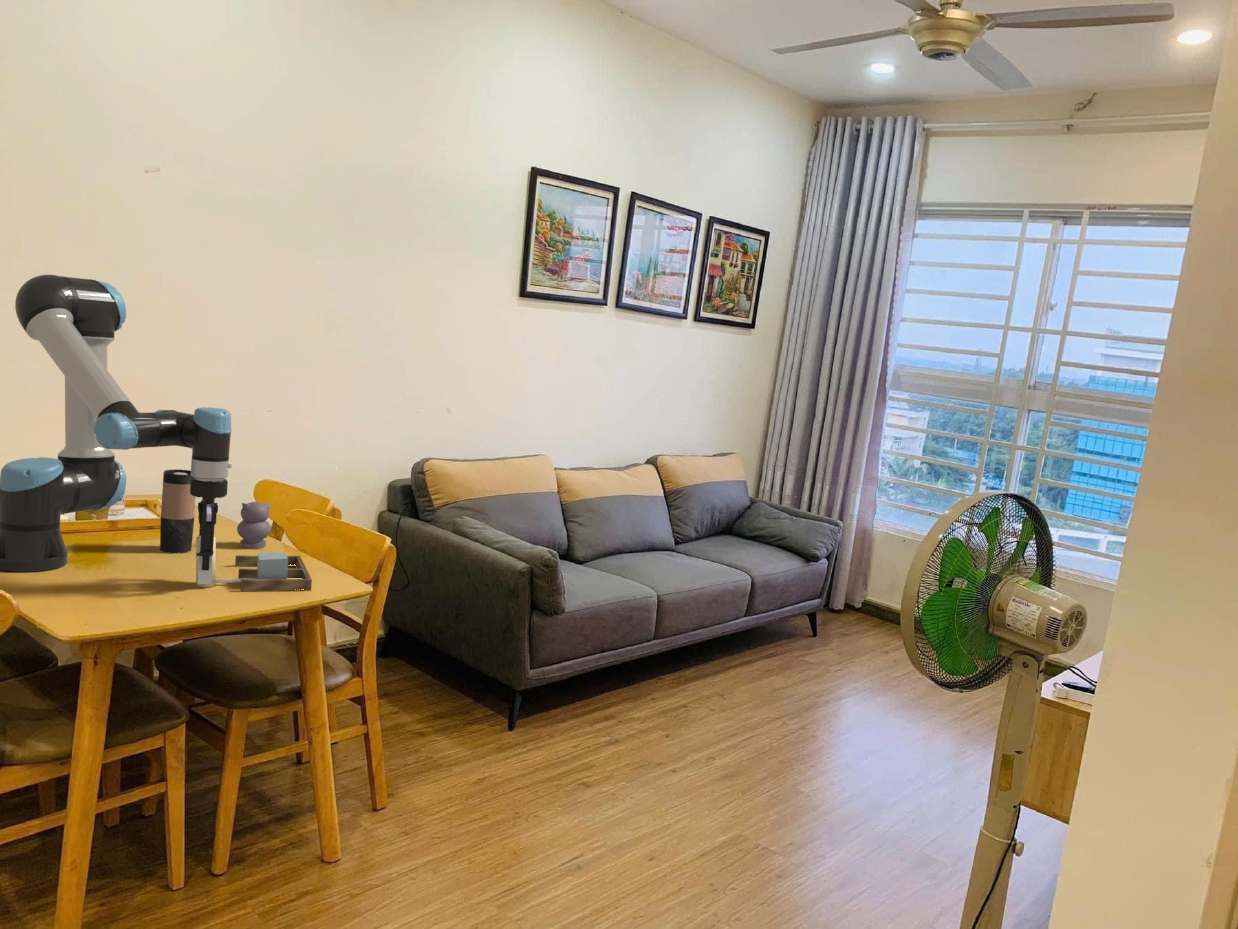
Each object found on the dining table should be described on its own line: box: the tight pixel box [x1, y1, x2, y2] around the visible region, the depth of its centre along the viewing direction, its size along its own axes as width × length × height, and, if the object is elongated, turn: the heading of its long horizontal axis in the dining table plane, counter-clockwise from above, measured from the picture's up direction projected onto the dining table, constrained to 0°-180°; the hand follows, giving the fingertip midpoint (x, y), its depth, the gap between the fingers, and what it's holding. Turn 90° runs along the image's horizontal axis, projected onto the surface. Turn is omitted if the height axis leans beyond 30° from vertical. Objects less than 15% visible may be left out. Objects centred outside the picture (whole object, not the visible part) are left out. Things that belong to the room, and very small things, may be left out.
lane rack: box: [234, 554, 313, 592], centre depth 216 cm, size 15×22×2 cm
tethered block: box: [195, 535, 289, 588], centre depth 207 cm, size 19×6×11 cm, turn 116°
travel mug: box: [159, 469, 196, 554], centre depth 229 cm, size 8×8×20 cm
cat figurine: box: [236, 501, 273, 550], centre depth 242 cm, size 8×8×12 cm
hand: (203, 580), depth 204 cm, fingers closed on tethered block, 4 cm apart
